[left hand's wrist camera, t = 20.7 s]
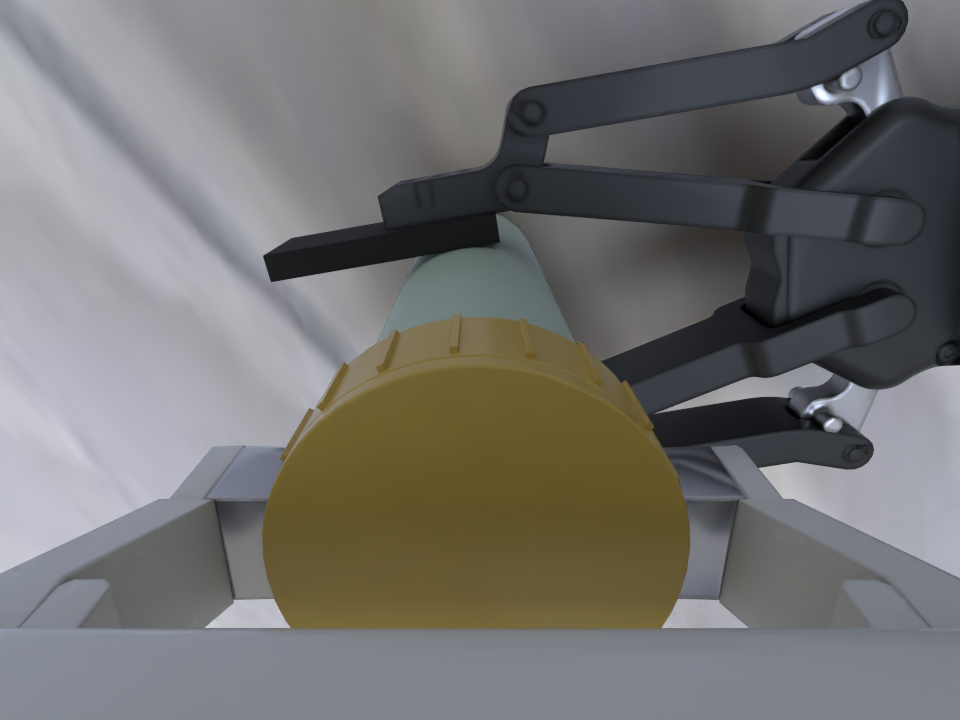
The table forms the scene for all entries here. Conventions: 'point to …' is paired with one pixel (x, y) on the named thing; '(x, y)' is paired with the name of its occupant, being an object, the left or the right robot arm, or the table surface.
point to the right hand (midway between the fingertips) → (309, 346)
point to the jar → (478, 286)
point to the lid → (476, 490)
